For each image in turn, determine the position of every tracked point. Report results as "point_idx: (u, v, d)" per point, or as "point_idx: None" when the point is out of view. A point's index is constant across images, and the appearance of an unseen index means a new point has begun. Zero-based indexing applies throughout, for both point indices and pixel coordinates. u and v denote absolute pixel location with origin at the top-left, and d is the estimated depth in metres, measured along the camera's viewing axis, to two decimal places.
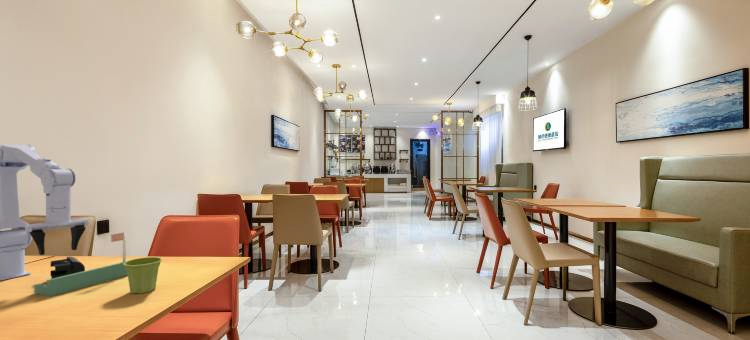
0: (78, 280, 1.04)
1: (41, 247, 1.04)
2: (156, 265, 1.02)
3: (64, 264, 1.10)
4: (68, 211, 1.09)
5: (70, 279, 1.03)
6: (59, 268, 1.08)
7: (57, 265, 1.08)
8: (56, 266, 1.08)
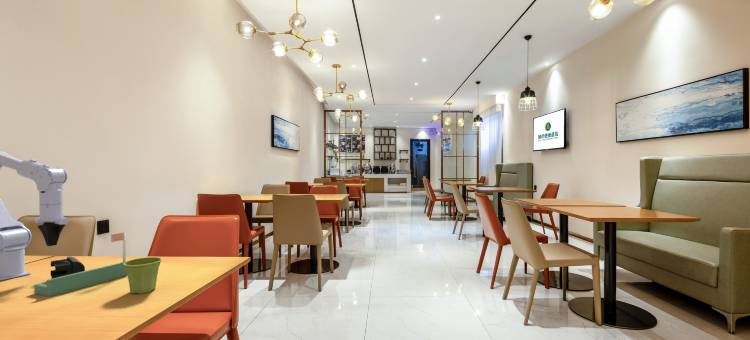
0: (78, 280, 1.04)
1: None
2: (156, 265, 1.02)
3: (64, 264, 1.10)
4: (46, 208, 1.14)
5: (70, 279, 1.03)
6: (59, 268, 1.08)
7: (57, 265, 1.08)
8: (56, 266, 1.08)
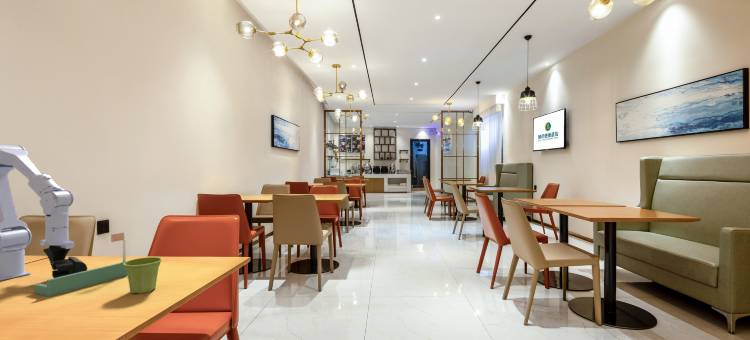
0: (78, 280, 1.04)
1: (50, 262, 1.14)
2: (156, 265, 1.02)
3: (66, 264, 1.09)
4: (52, 232, 1.13)
5: (70, 279, 1.03)
6: (61, 268, 1.08)
7: (59, 265, 1.08)
8: (58, 266, 1.08)
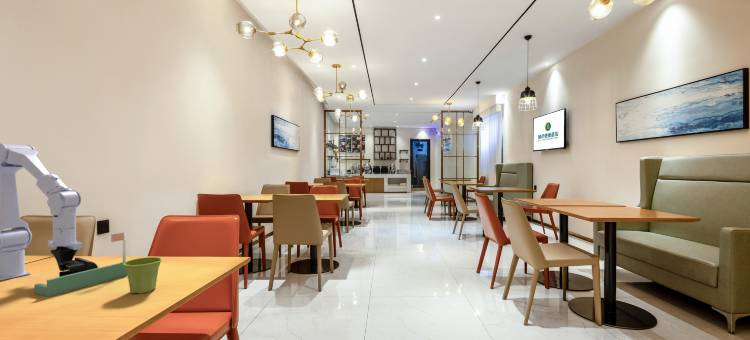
0: (78, 280, 1.04)
1: (57, 263, 1.13)
2: (156, 265, 1.02)
3: (78, 264, 1.09)
4: (60, 233, 1.11)
5: (70, 279, 1.03)
6: (73, 268, 1.07)
7: (71, 266, 1.07)
8: (70, 267, 1.07)
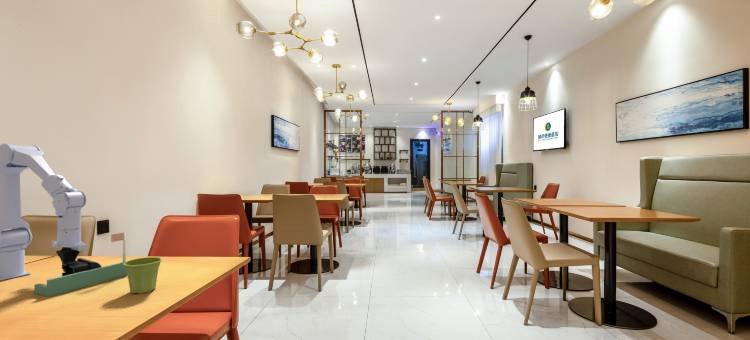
0: (78, 280, 1.04)
1: None
2: (156, 265, 1.02)
3: (82, 265, 1.08)
4: (64, 233, 1.10)
5: (70, 279, 1.03)
6: (77, 269, 1.07)
7: (75, 266, 1.07)
8: (74, 267, 1.06)
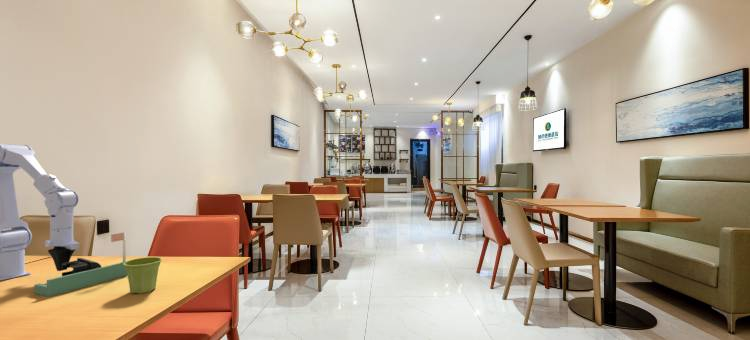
0: (78, 280, 1.04)
1: (55, 263, 1.13)
2: (156, 265, 1.02)
3: (82, 265, 1.08)
4: (57, 233, 1.12)
5: (70, 279, 1.03)
6: (77, 269, 1.07)
7: (75, 266, 1.07)
8: (74, 267, 1.06)
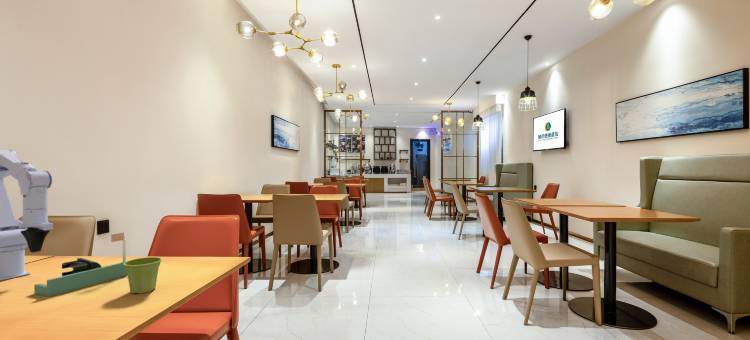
0: (78, 280, 1.04)
1: (28, 245, 1.11)
2: (156, 265, 1.02)
3: (82, 265, 1.08)
4: (30, 213, 1.09)
5: (70, 279, 1.03)
6: (77, 269, 1.07)
7: (75, 266, 1.07)
8: (74, 267, 1.06)
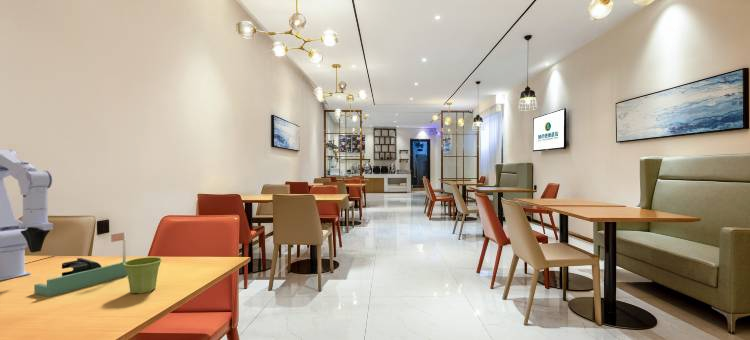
0: (78, 280, 1.04)
1: (28, 245, 1.11)
2: (156, 265, 1.02)
3: (82, 265, 1.08)
4: (30, 213, 1.09)
5: (70, 279, 1.03)
6: (77, 269, 1.07)
7: (75, 266, 1.07)
8: (74, 267, 1.06)
